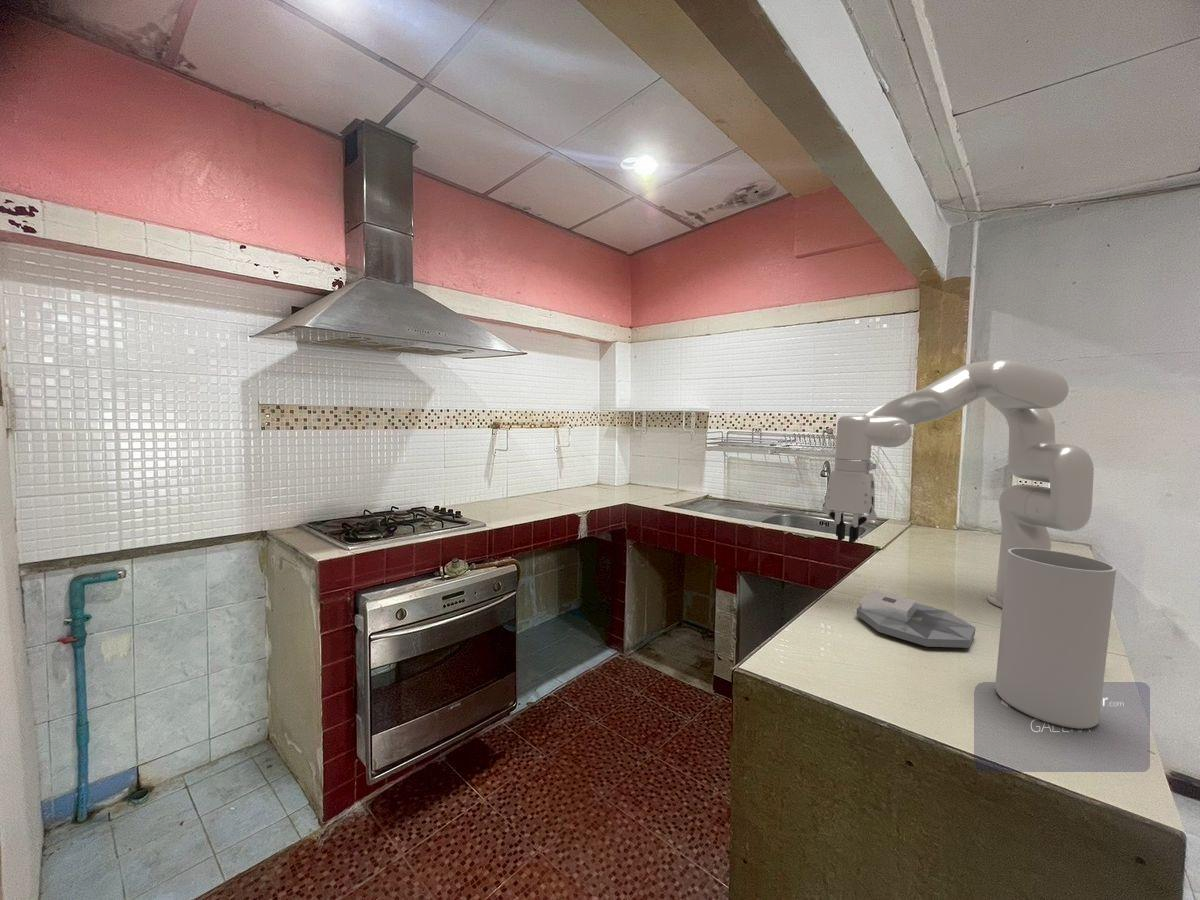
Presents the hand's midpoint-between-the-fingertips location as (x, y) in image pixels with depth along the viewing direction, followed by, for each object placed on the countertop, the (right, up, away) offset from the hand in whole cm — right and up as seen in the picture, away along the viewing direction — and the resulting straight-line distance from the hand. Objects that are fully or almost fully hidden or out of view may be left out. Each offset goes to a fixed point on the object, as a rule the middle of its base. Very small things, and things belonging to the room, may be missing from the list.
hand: (846, 540), depth 115 cm
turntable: (+10, -18, -9) cm, 23 cm away
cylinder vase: (+13, -21, -38) cm, 45 cm away
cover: (+7, -15, -6) cm, 18 cm away
